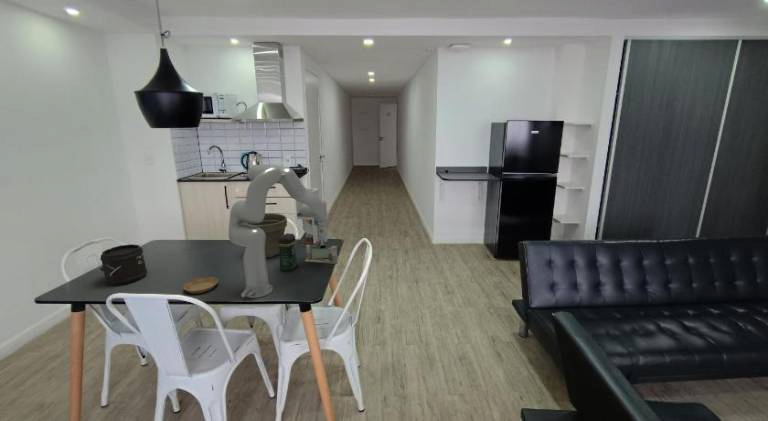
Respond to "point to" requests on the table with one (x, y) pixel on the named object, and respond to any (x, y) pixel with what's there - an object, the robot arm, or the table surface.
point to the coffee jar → (287, 252)
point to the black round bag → (123, 264)
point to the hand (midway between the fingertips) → (323, 251)
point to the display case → (308, 224)
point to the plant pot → (272, 231)
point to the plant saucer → (200, 284)
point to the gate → (320, 252)
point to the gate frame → (331, 259)
